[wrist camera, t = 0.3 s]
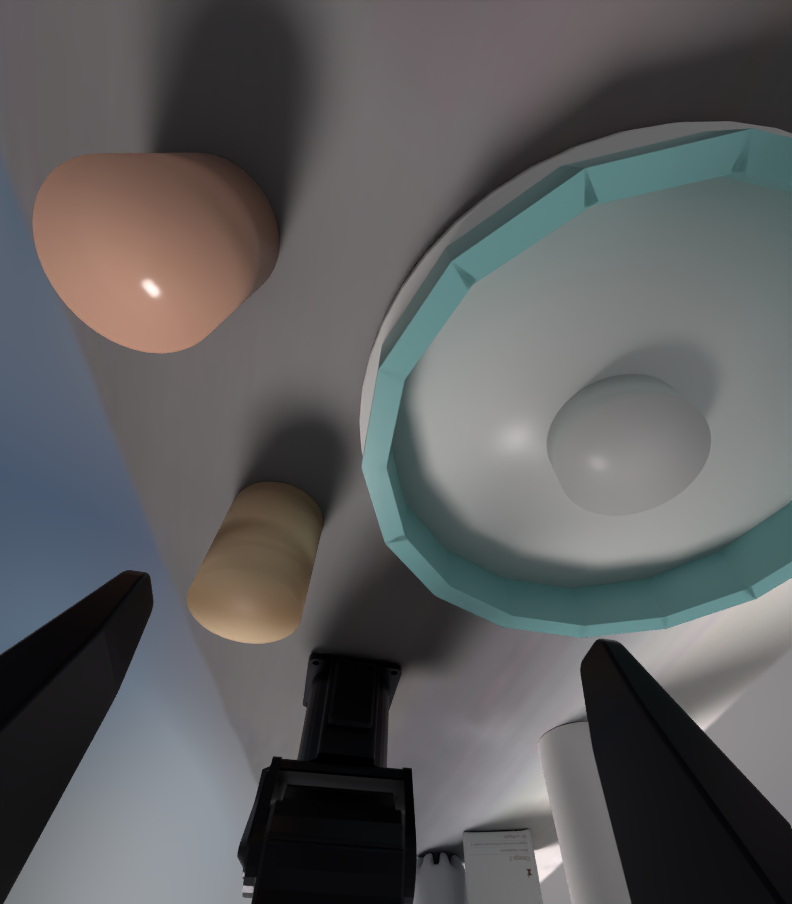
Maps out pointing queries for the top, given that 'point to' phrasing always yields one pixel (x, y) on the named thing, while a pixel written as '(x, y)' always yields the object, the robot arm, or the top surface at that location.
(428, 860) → the bottle
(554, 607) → the groove tray
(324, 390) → the top surface
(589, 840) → the cylindrical container
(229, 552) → the wood cylinder
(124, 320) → the pinkish brown short cylinder
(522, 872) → the supplement box
